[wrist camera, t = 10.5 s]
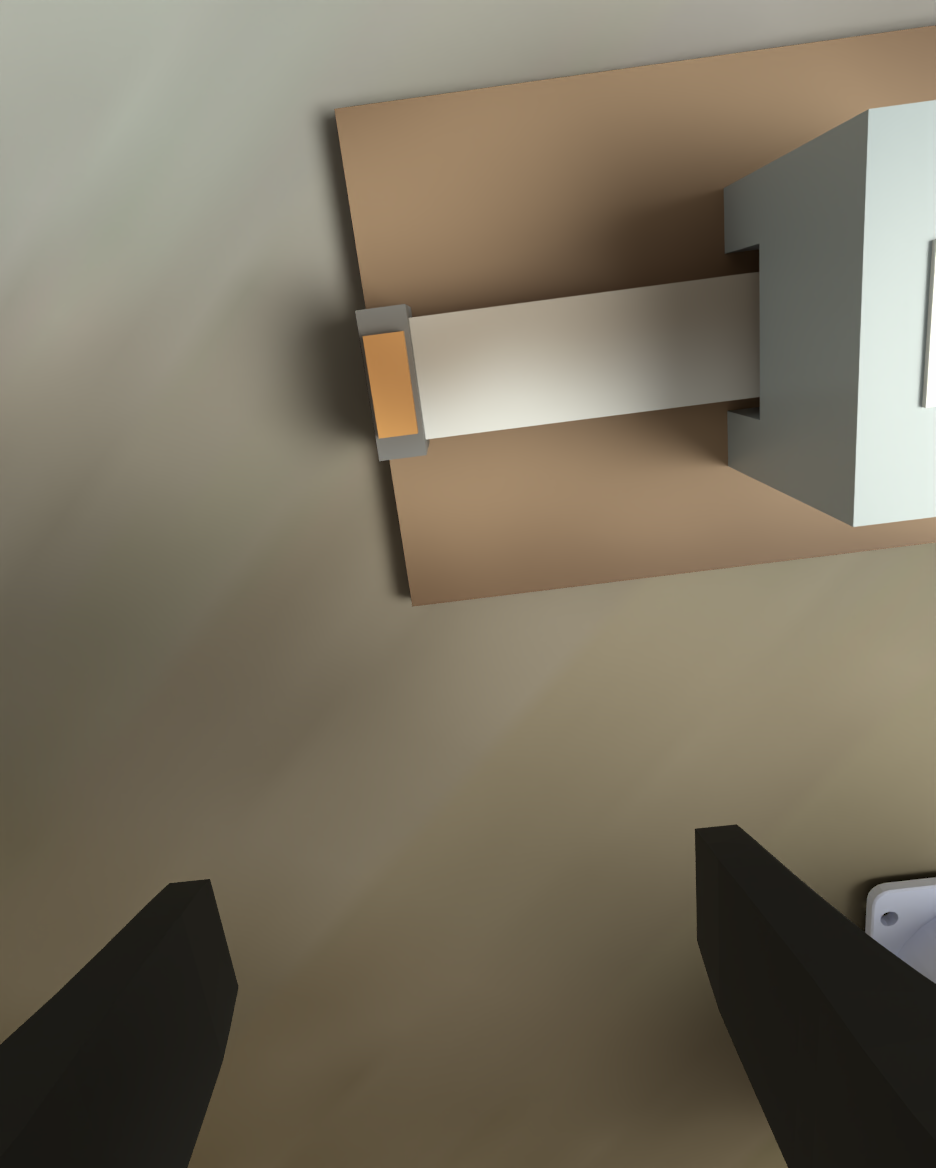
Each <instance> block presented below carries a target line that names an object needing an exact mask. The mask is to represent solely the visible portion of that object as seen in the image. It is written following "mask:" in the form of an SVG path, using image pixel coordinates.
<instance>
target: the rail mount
mask: <svg viewBox="0 0 936 1168" xmlns="http://www.w3.org/2000/svg"><path fill="white" fill-rule="evenodd" d="M932 100H936V25H935V26H928V27H920V28H913V29H906V30H899V31H892V32H884V33H877V34H870V35H863V36H856V37H848V38H841V39H834V40H827V41H820V42H812V43H805V44H798V45H791V46H784V47H776V48H769V49H762V50H755V51H748V52H740V53H733V54H726V55H719V56H712V57H704V58H697V59H690V60H683V61H676V62H668V63H661V64H654V65H647V66H640V67H633V68H625V69H618V70H611V71H604V72H597V73H589V74H582V75H575V76H568V77H561V78H553V79H546V80H539V81H532V82H525V83H517V84H510V85H503V86H496V87H489V88H481V89H474V90H467V91H460V92H453V93H445V94H438V95H431V96H424V97H417V98H409V99H402V100H395V101H388V102H381V103H373V104H366V105H359V106H352V107H345V108H337V109H334V110H335V116H336V122H337V129H338V135H339V142H340V148H341V154H342V161H343V167H344V173H345V180H346V186H347V193H348V199H349V205H350V212H351V218H352V224H353V231H354V237H355V244H356V250H357V256H358V263H359V269H360V275H361V282H362V288H363V295H364V301H365V307H366V309H363V310H356V311H355V313H356V320H357V326H358V332H359V338H360V344H361V351H362V357H363V363H364V369H365V375H366V382H367V388H368V394H369V400H370V406H371V413H372V419H373V425H374V431H375V437H376V444H377V450H378V456H379V461H385V460H390V467H391V473H392V480H393V486H394V492H395V499H396V505H397V511H398V518H399V524H400V531H401V537H402V543H403V550H404V556H405V562H406V569H407V575H408V582H409V588H410V594H411V601H412V606H420V605H428V604H436V603H444V602H452V601H461V600H469V599H477V598H485V597H493V596H502V595H510V594H518V593H526V592H534V591H542V590H551V589H559V588H567V587H575V586H583V585H592V584H600V583H608V582H616V581H624V580H632V579H641V578H649V577H657V576H665V575H673V574H681V573H690V572H698V571H706V570H714V569H722V568H731V567H739V566H747V565H755V564H763V563H771V562H780V561H788V560H796V559H804V558H812V557H821V556H829V555H837V554H845V553H853V552H861V551H870V550H878V549H886V548H894V547H902V546H910V545H919V544H927V543H935V542H936V517H931V518H923V519H914V520H906V521H898V522H890V523H882V524H874V525H866V526H857V527H852V526H850V525H848V524H846V523H844V522H842V521H840V520H838V519H836V518H834V517H832V516H830V515H828V514H825V513H823V512H821V511H819V510H817V509H815V508H813V507H811V506H809V505H807V504H805V503H803V502H801V501H799V500H797V499H795V498H793V497H790V496H788V495H786V494H784V493H782V492H780V491H778V490H776V489H774V488H772V487H770V486H768V485H766V484H764V483H762V482H760V481H758V480H755V479H753V478H751V477H749V476H747V475H745V474H743V473H741V472H739V471H737V470H735V469H733V468H731V467H729V466H728V425H727V411H731V410H739V409H747V408H755V407H760V280H759V249H757V250H750V251H742V252H734V253H727V254H725V240H724V188H725V187H727V186H729V185H730V184H732V183H734V182H736V181H738V180H740V179H741V178H743V177H745V176H747V175H749V174H751V173H752V172H754V171H756V170H758V169H760V168H762V167H763V166H765V165H767V164H769V163H771V162H773V161H774V160H776V159H778V158H780V157H782V156H784V155H785V154H787V153H789V152H791V151H793V150H795V149H796V148H798V147H800V146H802V145H804V144H806V143H807V142H809V141H811V140H813V139H815V138H817V137H818V136H820V135H822V134H824V133H826V132H828V131H829V130H831V129H833V128H835V127H837V126H839V125H840V124H842V123H844V122H846V121H848V120H850V119H851V118H853V117H855V116H857V115H859V114H861V113H862V112H864V111H866V110H868V109H873V108H880V107H888V106H895V105H902V104H910V103H917V102H924V101H932Z"/></svg>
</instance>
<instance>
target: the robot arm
mask: <svg viewBox="0 0 936 1168" xmlns="http://www.w3.org/2000/svg"><path fill="white" fill-rule="evenodd" d="M695 851H696V901H697V941H698V945H699V948H700V951H701V954H702V958H703V961H704V964H705V967H706V971H707V974H708V977H709V980H710V983H711V987H712V990H713V993H714V996H715V999H716V1002H717V1005H718V1008H719V1011H720V1013H721V1016H722V1018H723V1020H724V1023H725V1025H726V1027H727V1030H728V1032H729V1034H730V1037H731V1039H732V1041H733V1044H734V1046H735V1048H736V1050H737V1053H738V1055H739V1057H740V1060H741V1062H742V1064H743V1066H744V1069H745V1071H746V1073H747V1075H748V1078H749V1080H750V1082H751V1085H752V1087H753V1089H754V1091H755V1094H756V1096H757V1098H758V1100H759V1103H760V1105H761V1107H762V1109H763V1112H764V1114H765V1116H766V1118H767V1121H768V1123H769V1125H770V1127H771V1130H772V1132H773V1134H774V1136H775V1139H776V1141H777V1143H778V1145H779V1148H780V1150H781V1152H782V1155H783V1157H784V1159H785V1161H786V1164H787V1166H788V1168H936V877H934V878H925V879H916V880H907V881H898V882H889V883H883V884H879V885H877V886H875V887H873V888H872V889H871V891H870V892H869V893H868V897H867V907H866V927H865V932H864V931H862V930H861V929H860V928H859V927H857V926H856V925H855V924H854V923H853V922H851V921H850V920H849V919H848V918H846V917H845V916H844V915H843V914H841V913H840V912H839V911H838V910H836V909H835V908H834V907H833V906H831V905H830V904H829V903H828V902H826V901H825V900H824V899H823V898H822V897H820V896H819V895H818V894H817V893H816V892H814V891H813V890H812V889H811V888H810V887H808V886H807V885H806V884H805V883H804V882H803V881H801V880H800V879H799V878H798V877H797V876H796V875H794V874H793V873H792V872H791V871H790V870H789V869H787V868H786V867H785V866H784V865H783V864H782V863H781V862H779V861H778V860H777V859H776V858H775V857H774V856H773V855H771V854H770V853H769V852H768V851H767V850H766V849H765V848H764V847H762V846H761V845H760V844H759V843H758V842H757V841H756V840H754V839H753V838H752V837H751V836H750V835H749V834H747V833H746V832H745V831H744V830H743V829H741V828H740V827H739V826H738V825H728V826H718V827H708V828H699V829H695ZM887 912H889V913H888V914H887V915H884V916H882V915H883V914H885V913H887ZM237 991H238V984H237V980H236V976H235V972H234V969H233V965H232V961H231V957H230V953H229V950H228V946H227V942H226V938H225V935H224V931H223V927H222V923H221V919H220V916H219V912H218V908H217V904H216V900H215V897H214V893H213V889H212V885H211V882H210V879H207V880H197V881H187V882H178V883H169V884H168V885H167V886H166V887H165V888H164V889H163V890H162V891H161V892H160V893H158V894H157V895H156V896H155V897H154V898H153V899H152V900H151V901H150V902H149V903H148V904H147V905H146V906H145V907H144V908H143V909H142V910H141V911H140V912H139V913H138V914H137V915H136V916H135V917H134V918H133V919H132V920H131V921H130V922H129V923H128V924H127V925H126V926H125V927H124V928H123V929H122V930H121V931H120V932H119V933H118V934H117V935H116V936H115V937H114V938H113V939H112V940H111V941H110V942H109V943H108V944H107V945H106V946H105V947H104V948H103V949H102V950H101V951H100V952H99V953H98V954H97V955H96V956H95V957H94V958H92V959H91V960H90V961H89V962H88V963H87V964H86V965H85V966H84V967H83V968H82V969H81V970H80V971H79V972H78V973H77V974H76V975H75V976H74V977H73V978H72V979H71V980H70V981H69V982H68V983H67V984H66V985H65V986H64V987H63V988H62V989H61V990H60V991H59V992H58V993H57V994H55V995H54V996H53V997H52V998H51V999H50V1000H49V1001H48V1002H47V1003H46V1004H45V1005H43V1006H42V1007H41V1008H40V1009H39V1010H38V1011H37V1012H36V1013H35V1014H34V1015H33V1016H31V1017H30V1018H29V1019H28V1020H27V1021H26V1022H25V1023H24V1024H23V1025H22V1026H20V1027H19V1028H18V1029H17V1030H16V1031H15V1032H14V1033H13V1034H12V1035H11V1036H9V1037H8V1038H7V1039H6V1040H5V1041H4V1042H3V1043H2V1044H1V1045H0V1168H187V1167H188V1164H189V1161H190V1158H191V1155H192V1152H193V1149H194V1146H195V1143H196V1140H197V1137H198V1134H199V1131H200V1128H201V1125H202V1123H203V1120H204V1117H205V1113H206V1110H207V1107H208V1104H209V1101H210V1098H211V1095H212V1092H213V1089H214V1086H215V1083H216V1080H217V1077H218V1074H219V1071H220V1068H221V1065H222V1062H223V1058H224V1053H225V1049H226V1044H227V1040H228V1035H229V1031H230V1027H231V1022H232V1016H233V1011H234V1006H235V1001H236V996H237Z"/></svg>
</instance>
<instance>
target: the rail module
mask: <svg viewBox="0 0 936 1168" xmlns="http://www.w3.org/2000/svg"><path fill="white" fill-rule="evenodd" d="M724 240H725V254H727V253H734V252H742V251H750V250H757V249H759V280H760V407H755V408H747V409H739V410H731V411H727V425H728V466H729V467H731V468H733V469H735V470H737V471H739V472H741V473H743V474H745V475H747V476H749V477H751V478H753V479H755V480H758V481H760V482H762V483H764V484H766V485H768V486H770V487H772V488H774V489H776V490H778V491H780V492H782V493H784V494H786V495H788V496H790V497H793V498H795V499H797V500H799V501H801V502H803V503H805V504H807V505H809V506H811V507H813V508H815V509H817V510H819V511H821V512H823V513H825V514H828V515H830V516H832V517H834V518H836V519H838V520H840V521H842V522H844V523H846V524H848V525H850V526H852V527H857V526H866V525H874V524H882V523H890V522H898V521H906V520H914V519H923V518H931V517H936V100H932V101H924V102H917V103H910V104H902V105H895V106H888V107H880V108H873V109H868V110H866V111H864V112H862V113H861V114H859V115H857V116H855V117H853V118H851V119H850V120H848V121H846V122H844V123H842V124H840V125H839V126H837V127H835V128H833V129H831V130H829V131H828V132H826V133H824V134H822V135H820V136H818V137H817V138H815V139H813V140H811V141H809V142H807V143H806V144H804V145H802V146H800V147H798V148H796V149H795V150H793V151H791V152H789V153H787V154H785V155H784V156H782V157H780V158H778V159H776V160H774V161H773V162H771V163H769V164H767V165H765V166H763V167H762V168H760V169H758V170H756V171H754V172H752V173H751V174H749V175H747V176H745V177H743V178H741V179H740V180H738V181H736V182H734V183H732V184H730V185H729V186H727V187H725V188H724Z"/></svg>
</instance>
